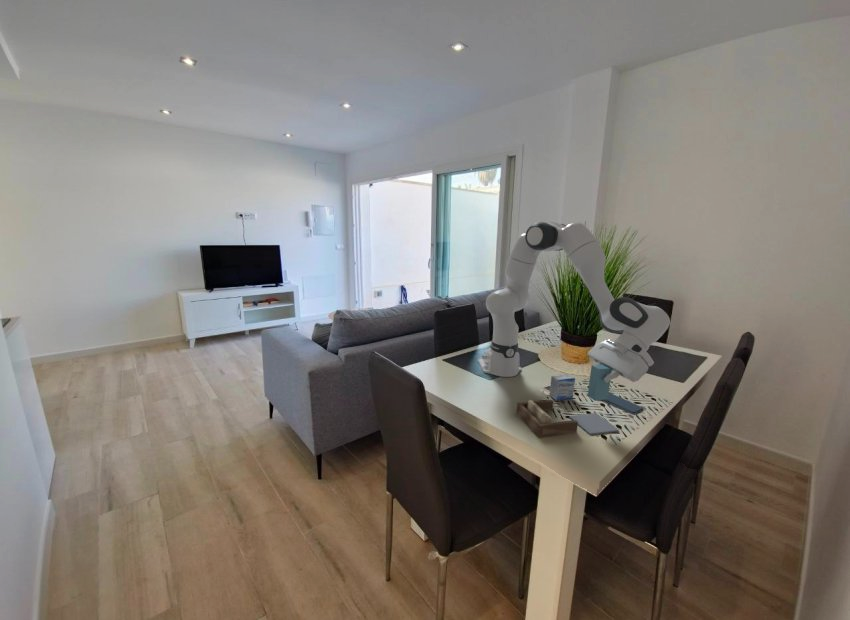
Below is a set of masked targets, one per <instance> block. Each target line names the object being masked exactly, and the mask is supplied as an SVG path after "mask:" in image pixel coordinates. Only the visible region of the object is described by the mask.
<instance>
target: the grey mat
mask: <svg viewBox="0 0 850 620" xmlns="http://www.w3.org/2000/svg"><path fill="white" fill-rule="evenodd" d="M568 418H569V419H570V421H571V420H576V421H578V426H577V427H579V428H581V429H582V430H583V431H584V432H586V433H587V434H588V435H589V436H593V435H595V436H596V435H602V434H609V433H619V432H620V429H618V428H617V427H616V426H614V425H613V424H612V423H611V422H609V421H607V420H606V419H605V418H604V417H602V416H601V415H599V414H598V413H597V412H593V413H583V414H574V415H569V416H568Z"/></svg>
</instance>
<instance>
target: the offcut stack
mask: <svg viewBox="0 0 850 620" xmlns="http://www.w3.org/2000/svg"><path fill="white" fill-rule="evenodd" d="M527 402H528V408H527V410H528V411H529V412H530V413H531V414H532V415H533V416H534V417H535V418H536V419H537V420H538V421H539V422H540V423H541V424H544V423H552V417H551V416H550V415H549V414H548V412H544V411H543V410H542V409H541V408H540V407H539V406H538V405H536V404H535V403H534V402H533V400H531V399H529V400H528V401H527Z"/></svg>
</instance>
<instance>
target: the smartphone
mask: <svg viewBox="0 0 850 620" xmlns="http://www.w3.org/2000/svg"><path fill="white" fill-rule="evenodd" d="M600 401H601V402H604V403H607V404H608V405H611V406H613V407H615V408H617V409H620V410H622V411H623V412H627V413H628V412H629V414H631V415H637V414H639V413H641V412H642V411H644V407H642V406H641V405H639V404H636V403H634V402H631V401H629V400H627V399H625V398H622V397H620V396H618V395H615V394H613V393H610V392H609V393H608V399H605V400H600ZM638 412H639V413H638ZM636 413H637V414H636Z"/></svg>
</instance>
